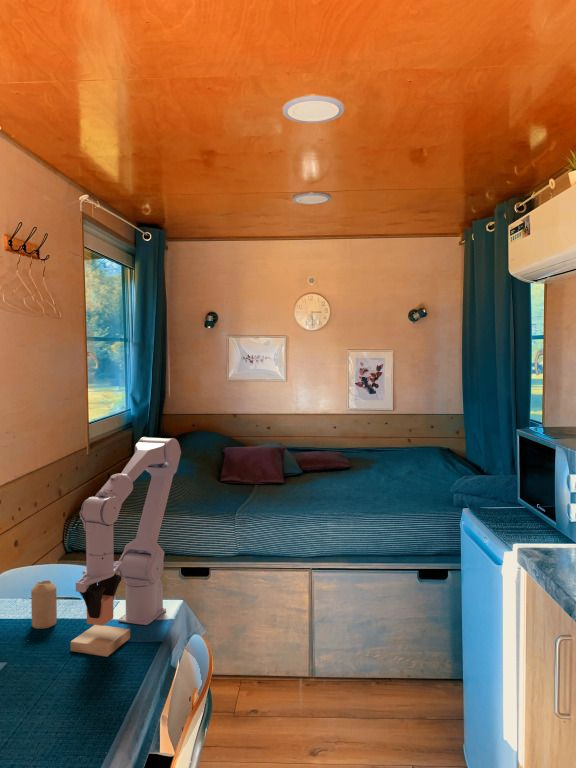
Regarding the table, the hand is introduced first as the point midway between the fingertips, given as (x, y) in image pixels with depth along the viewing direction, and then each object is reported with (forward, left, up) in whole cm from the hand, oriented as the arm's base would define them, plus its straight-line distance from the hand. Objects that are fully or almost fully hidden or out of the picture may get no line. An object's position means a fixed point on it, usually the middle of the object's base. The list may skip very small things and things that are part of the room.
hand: (100, 613), depth 132 cm
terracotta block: (0, 0, -2) cm, 2 cm away
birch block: (0, 0, -7) cm, 7 cm away
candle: (-5, -19, -7) cm, 21 cm away
